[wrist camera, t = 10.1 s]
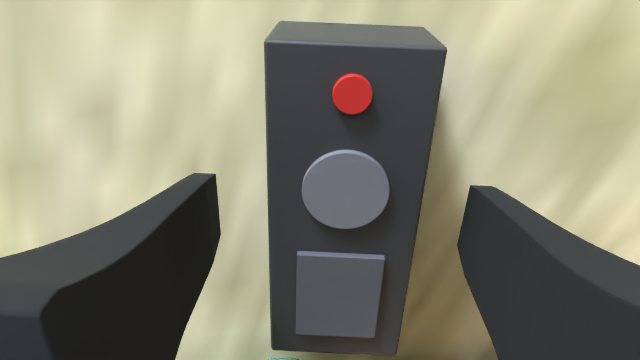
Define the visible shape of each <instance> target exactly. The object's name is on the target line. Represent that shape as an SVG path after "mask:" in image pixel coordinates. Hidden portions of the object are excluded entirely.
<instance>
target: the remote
mask: <svg viewBox="0 0 640 360" xmlns="http://www.w3.org/2000/svg"><path fill="white" fill-rule="evenodd" d="M446 53H447V49H446V47H445V46H444V45H443V44H442V43H441V42H439V41H438V40H437V39H436V38H435V37H434V36H433V35H432V34H431V33H429V32H428V31H427V30H426V29H425V28H423V27H409V26H385V25H361V24H338V23H314V22H290V21H280V22H279V23H278V24H277V25H276V27H275V28H274V29H273V31H272V32H271V33H270V34H269V36H268V37H267V38H266V40H265V42H264V56H265V100H266V143H267V187H268V230H269V274H270V318H271V348H272V349H273V350H284V351H304V352H324V353H344V354H364V355H384V356H396V354H397V348H398V342H399V336H400V330H401V324H402V318H403V312H404V306H405V300H406V294H407V288H408V282H409V276H410V270H411V264H412V258H413V252H414V246H415V240H416V234H417V228H418V222H419V216H420V210H421V204H422V198H423V192H424V186H425V180H426V174H427V168H428V162H429V156H430V150H431V144H432V138H433V132H434V125H435V119H436V113H437V107H438V101H439V95H440V89H441V83H442V77H443V71H444V65H445V59H446Z"/></svg>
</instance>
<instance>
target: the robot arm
mask: <svg viewBox="0 0 640 360" xmlns="http://www.w3.org/2000/svg"><path fill="white" fill-rule="evenodd" d="M220 235H221V232H220V220H219V208H218V196H217V184H216V174H203V173H194V174H191V175H189V176H187V177H186V178H184V179H182V180H180V181H179V182H177V183H176V184H174V185H172V186H171V187H169V188H167V189H166V190H164V191H162V192H161V193H159V194H157V195H156V196H154V197H152V198H151V199H149V200H147V201H146V202H144V203H142V204H140V205H138V206H136V207H135V208H133V209H131V210H129V211H127V212H125V213H124V214H122V215H120V216H118V217H116V218H114V219H112V220H110V221H107V222H105V223H103V224H101V225H99V226H96V227H94V228H91V229H89V230H87V231H84V232H82V233H79V234H77V235H74V236H71V237H68V238H65V239H62V240H59V241H56V242H54V243H51V244H48V245H45V246H42V247H39V248H35V249H32V250H28V251H25V252H21V253H18V254H14V255H10V256H6V257H2V258H0V360H175V358H176V355H177V351H178V348H179V345H180V341H181V339H182V336H183V333H184V331H185V328H186V325H187V323H188V321H189V318H190V316H191V314H192V311H193V309H194V307H195V304H196V302H197V300H198V298H199V295H200V293H201V291H202V288H203V286H204V284H205V281H206V279H207V277H208V274H209V272H210V269H211V267H212V264H213V262H214V258H215V254H216V251H217V247H218V243H219V239H220ZM457 246H458V251H459V255H460V259H461V263H462V267H463V271H464V275H465V277H466V280H467V282H468V285H469V287H470V290H471V292H472V295H473V297H474V299H475V302H476V304H477V307H478V309H479V311H480V314H481V316H482V318H483V321H484V323H485V326H486V328H487V330H488V333H489V335H490V337H491V340H492V343H493V345H494V348H495V351H496V353H497V356H498V360H640V265H637V264H635V263H632V262H630V261H627V260H625V259H623V258H620V257H618V256H616V255H614V254H612V253H610V252H608V251H605V250H603V249H601V248H599V247H597V246H595V245H593V244H591V243H589V242H587V241H585V240H583V239H581V238H579V237H578V236H576V235H574V234H572V233H570V232H568V231H567V230H565V229H563V228H561V227H560V226H558V225H556V224H555V223H553V222H551V221H549V220H548V219H546V218H545V217H543V216H541V215H540V214H538V213H536V212H535V211H533V210H532V209H530V208H528V207H527V206H525V205H524V204H522V203H521V202H519V201H517V200H516V199H514V198H513V197H511V196H509V195H508V194H506V193H504V192H502V191H501V190H499V189H497V188H495V187H493V186H473V185H470V189H469V194H468V198H467V203H466V207H465V212H464V216H463V221H462V226H461V230H460V235H459V239H458V244H457Z"/></svg>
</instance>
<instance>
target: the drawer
mask: <svg viewBox="0 0 640 360" xmlns="http://www.w3.org/2000/svg"><path fill="white" fill-rule="evenodd" d="M268 360H299V359H287V358H269V359H268Z"/></svg>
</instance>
